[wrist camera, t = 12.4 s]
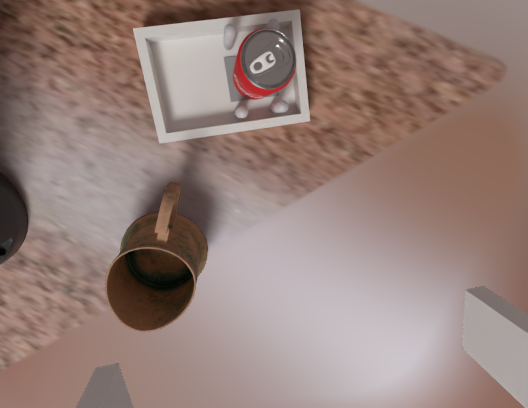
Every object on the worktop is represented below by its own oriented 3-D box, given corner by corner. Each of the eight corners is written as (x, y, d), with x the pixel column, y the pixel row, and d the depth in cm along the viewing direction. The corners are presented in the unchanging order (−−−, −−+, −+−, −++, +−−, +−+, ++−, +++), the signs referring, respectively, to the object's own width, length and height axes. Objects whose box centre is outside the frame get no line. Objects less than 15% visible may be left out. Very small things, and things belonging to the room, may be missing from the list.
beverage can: (282, 86, 38) (309, 72, 27) (246, 108, 38) (257, 103, 27) (261, 45, 37) (280, 12, 25) (223, 68, 37) (225, 46, 25)
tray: (164, 141, 39) (153, 146, 32) (140, 36, 36) (122, 17, 29) (302, 120, 41) (319, 121, 34) (292, 18, 37) (308, -3, 31)
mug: (227, 181, 42) (229, 205, 30) (196, 295, 45) (189, 355, 34) (138, 158, 39) (104, 174, 28) (114, 280, 43) (76, 339, 32)
